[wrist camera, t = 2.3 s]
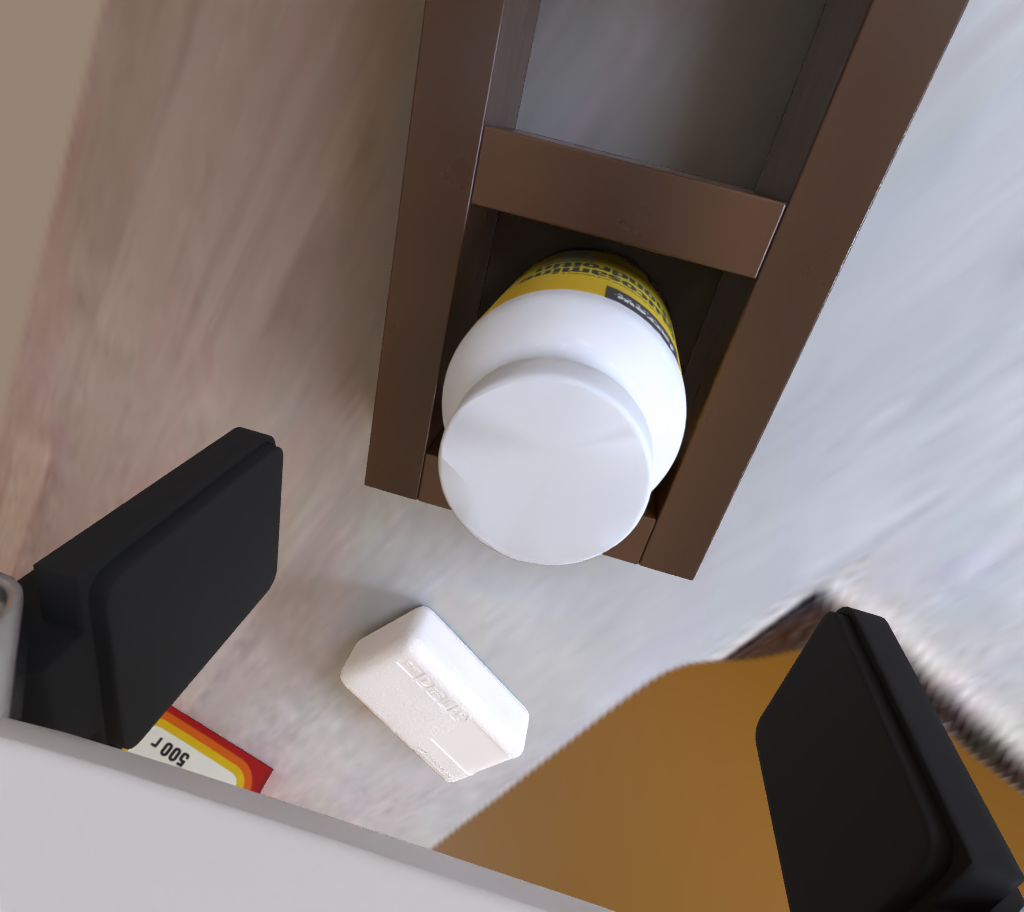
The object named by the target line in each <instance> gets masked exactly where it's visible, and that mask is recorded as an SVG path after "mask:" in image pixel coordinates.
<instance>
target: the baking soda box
mask: <svg viewBox="0 0 1024 912" xmlns="http://www.w3.org/2000/svg"><path fill="white" fill-rule="evenodd" d="M122 750H124V751H127V752H130V753H134V754H137V755H140V756H143V757H147V758H150V759H153V760H157V761H160V762H163V763H166V764H170V765H173V766H176V767H179V768H183V769H186V770H189V771H192V772H195V773H198V774H201V775H204V776H207V777H210V778H213V779H216V780H219V781H222V782H225V783H229V784H232V785H235V786H238V787H241V788H244V789H247V790H250V791H253V792H256V793H259V794H260V792H261V790H262V788H263V787H264V785H265V783H266V781H267V780H268V778H269V776H270V774H271V773H272V771H273V769H272V768H270V767H269V766H267V765H266V764H264V763H262V762H261V761H259V760H258V759H256V758H254V757H253V756H251V755H250V754H248V753H246V752H245V751H243V750H242V749H240V748H238V747H237V746H235V745H233V744H232V743H230V742H229V741H227V740H225V739H224V738H222V737H221V736H219V735H217V734H216V733H214V732H213V731H211V730H209V729H208V728H206V727H205V726H203V725H201V724H200V723H198V722H197V721H195V720H193V719H192V718H190V717H188V716H187V715H185V714H184V713H182V712H180V711H179V710H177V709H176V708H174V707H172V706H170V707H169V708H168V710H167V711H166V712H165V713H164V714H163V716H162V717H161V718H160V719H159V720H158V721H157V723H156V724H155V725H154V726H153V727H152V729H151V730H150V731H149V732H148V733H147V734H146V736H145V737H144V738H143V739H142V740H141V741H140V742H139V743H138V744H137V745H136V746H135V747H133V748H132V749H129V750H127V749H124V748H122Z"/></svg>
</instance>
